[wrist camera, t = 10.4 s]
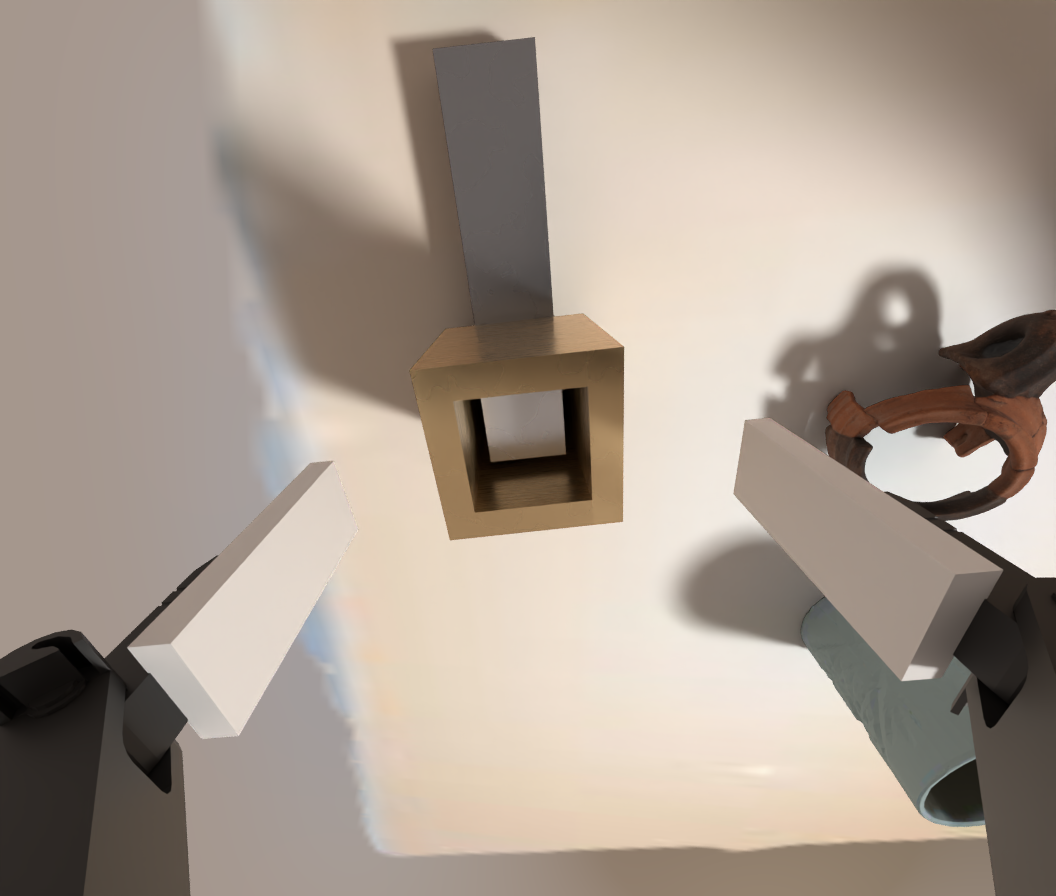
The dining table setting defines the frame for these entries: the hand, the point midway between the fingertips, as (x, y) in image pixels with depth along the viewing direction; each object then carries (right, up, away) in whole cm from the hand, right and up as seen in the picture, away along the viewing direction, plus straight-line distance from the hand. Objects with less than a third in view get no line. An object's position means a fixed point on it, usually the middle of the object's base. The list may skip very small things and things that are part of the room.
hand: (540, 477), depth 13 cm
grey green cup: (+27, -13, +21) cm, 37 cm away
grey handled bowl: (-1, +10, +8) cm, 13 cm away
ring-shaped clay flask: (+23, +4, +12) cm, 27 cm away
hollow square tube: (-1, +4, +9) cm, 10 cm away
